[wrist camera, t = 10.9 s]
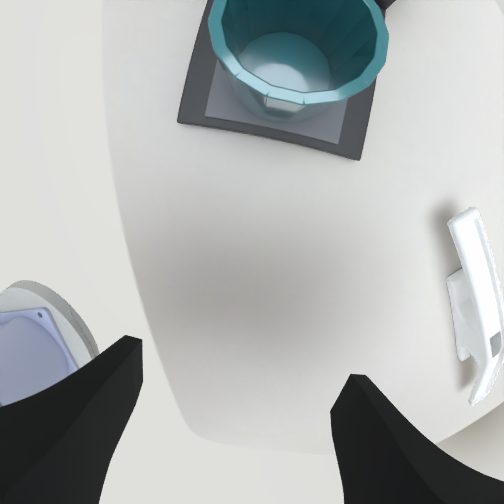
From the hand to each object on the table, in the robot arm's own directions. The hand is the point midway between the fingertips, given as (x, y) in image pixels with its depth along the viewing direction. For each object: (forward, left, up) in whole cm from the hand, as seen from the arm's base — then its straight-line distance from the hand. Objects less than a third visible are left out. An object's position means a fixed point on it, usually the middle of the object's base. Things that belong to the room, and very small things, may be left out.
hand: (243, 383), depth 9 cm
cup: (+4, +11, -8) cm, 14 cm away
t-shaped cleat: (+17, -7, -10) cm, 21 cm away
